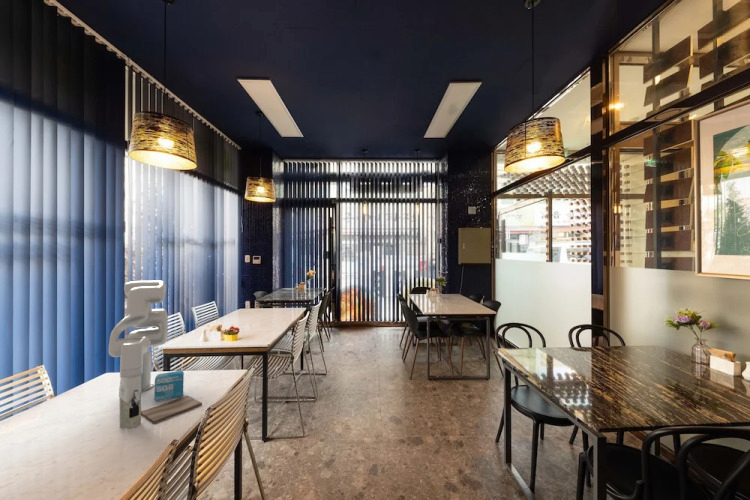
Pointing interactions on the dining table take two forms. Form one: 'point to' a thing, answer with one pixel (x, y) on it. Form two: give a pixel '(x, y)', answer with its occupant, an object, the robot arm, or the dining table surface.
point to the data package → (168, 385)
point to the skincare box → (124, 415)
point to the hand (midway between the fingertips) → (130, 413)
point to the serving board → (170, 409)
